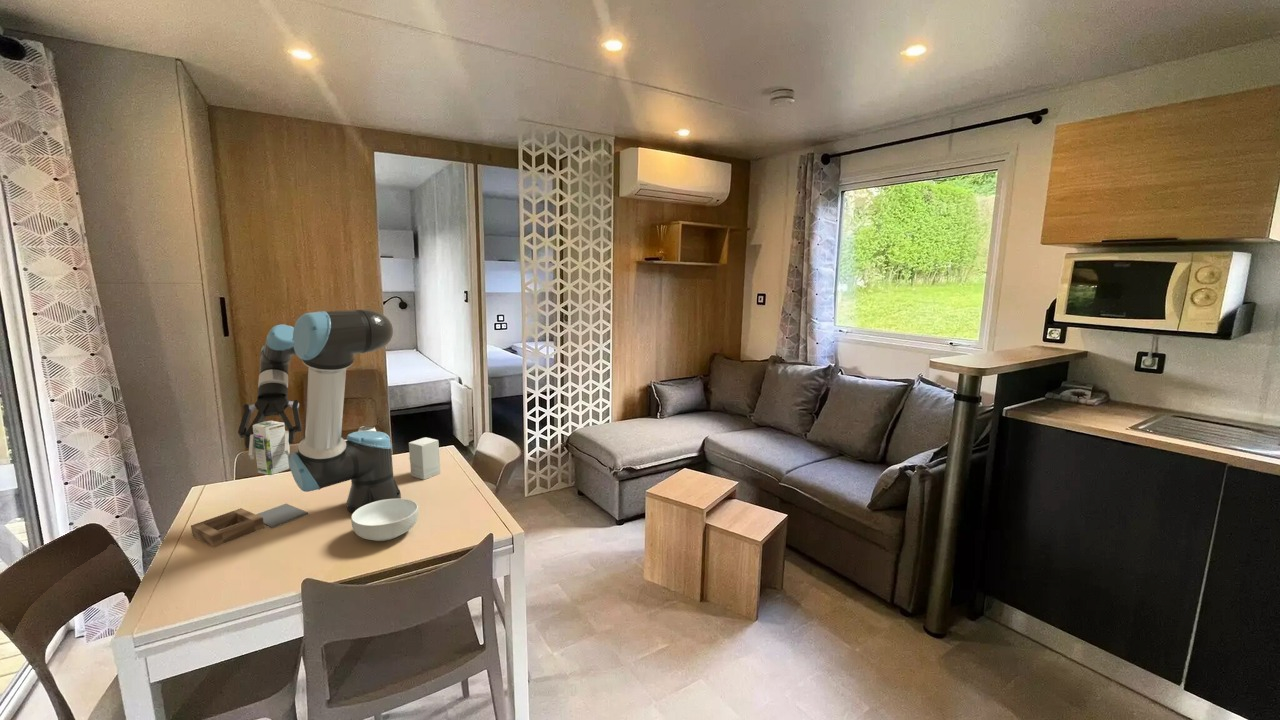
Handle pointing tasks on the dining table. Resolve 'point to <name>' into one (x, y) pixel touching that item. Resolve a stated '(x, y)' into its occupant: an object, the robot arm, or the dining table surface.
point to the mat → (281, 515)
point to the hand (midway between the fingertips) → (269, 454)
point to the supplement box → (424, 458)
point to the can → (367, 428)
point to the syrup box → (270, 447)
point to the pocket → (210, 527)
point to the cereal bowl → (384, 519)
